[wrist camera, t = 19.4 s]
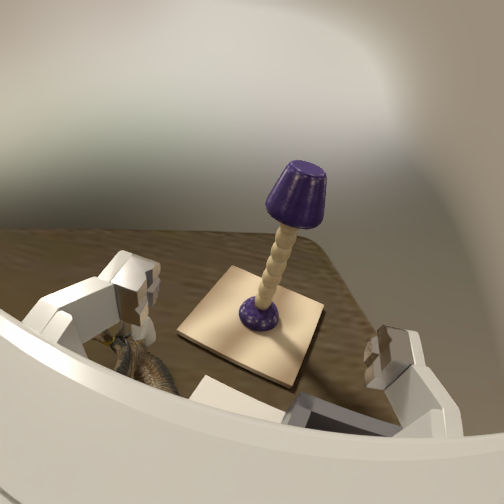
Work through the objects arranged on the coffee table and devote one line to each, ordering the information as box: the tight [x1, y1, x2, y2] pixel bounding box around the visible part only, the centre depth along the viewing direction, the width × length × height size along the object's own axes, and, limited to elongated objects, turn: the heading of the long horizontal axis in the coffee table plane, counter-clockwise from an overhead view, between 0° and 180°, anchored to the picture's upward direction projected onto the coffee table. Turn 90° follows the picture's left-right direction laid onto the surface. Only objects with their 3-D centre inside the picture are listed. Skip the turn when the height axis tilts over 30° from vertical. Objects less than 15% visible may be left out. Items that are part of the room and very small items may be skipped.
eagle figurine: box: [91, 317, 179, 396], centre depth 21 cm, size 8×7×9 cm
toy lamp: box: [239, 160, 327, 332], centre depth 26 cm, size 5×5×17 cm
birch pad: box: [177, 265, 324, 389], centre depth 31 cm, size 12×12×1 cm
